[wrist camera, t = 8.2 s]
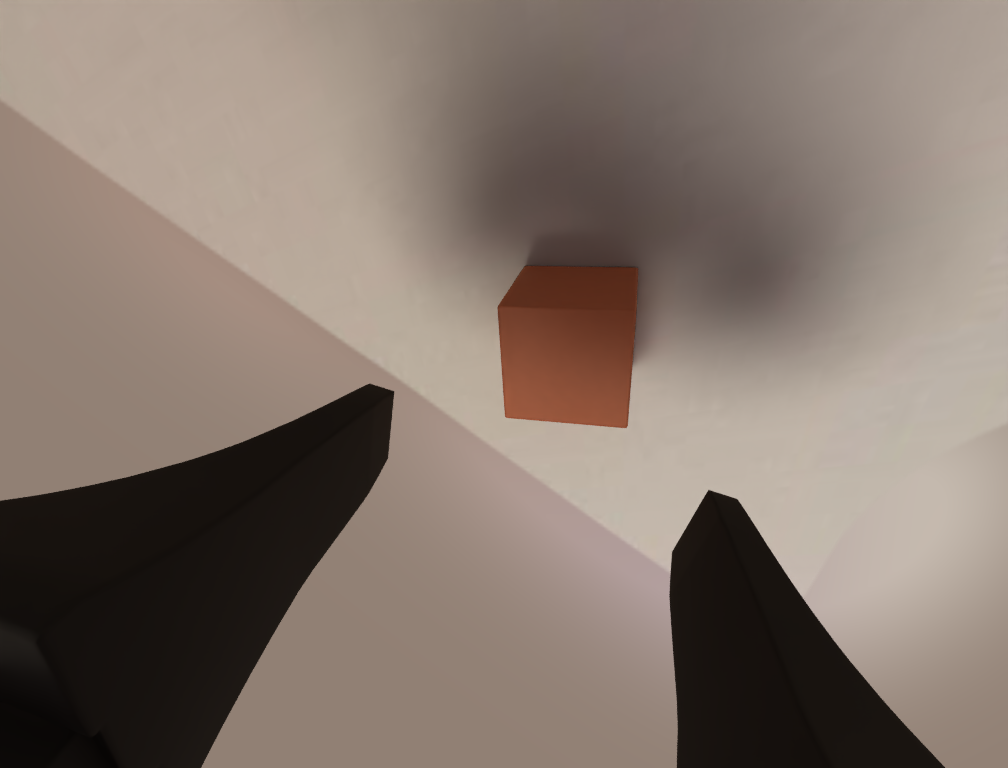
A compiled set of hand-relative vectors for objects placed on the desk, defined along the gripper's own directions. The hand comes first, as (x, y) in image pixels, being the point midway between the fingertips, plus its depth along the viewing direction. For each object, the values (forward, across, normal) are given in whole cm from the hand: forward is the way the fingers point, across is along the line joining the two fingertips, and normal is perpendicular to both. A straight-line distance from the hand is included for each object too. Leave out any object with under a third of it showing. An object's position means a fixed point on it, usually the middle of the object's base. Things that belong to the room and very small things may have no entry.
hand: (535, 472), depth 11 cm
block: (+9, 0, 0) cm, 9 cm away
